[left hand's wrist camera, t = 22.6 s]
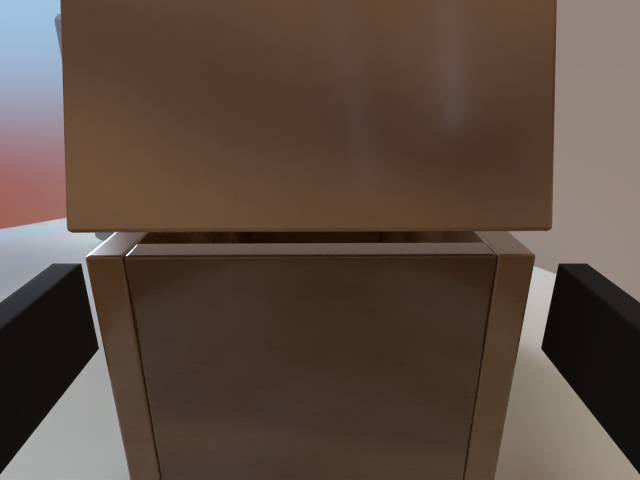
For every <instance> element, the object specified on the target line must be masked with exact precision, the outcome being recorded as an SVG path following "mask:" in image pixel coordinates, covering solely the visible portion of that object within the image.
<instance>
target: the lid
mask: <svg viewBox="0 0 640 480" xmlns="http://www.w3.org/2000/svg"><path fill="white" fill-rule="evenodd" d="M556 8H557V0H61V32H62V66H63V101H64V136H65V170H66V205H67V229H68V231H70V232H72V233H83V232H392V231H548V230H550V229H551V228H552V201H553V154H554V105H555V57H556V56H555V55H556Z"/></svg>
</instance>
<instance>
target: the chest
mask: <svg viewBox="0 0 640 480" xmlns="http://www.w3.org/2000/svg"><path fill="white" fill-rule="evenodd" d="M534 260H535V255H534V254H533V253H532V252H531V251H530V250H529V249H527V248H526V247H525V246H524V245H523V244H522V243H520V242H519V241H518V240H517V239H516V238H515V237H513V236H512V235H511V234H510V233H509V232H508V231H392V232H115V233H114V234H113V235H112V236H110V237H109V238H108V239H107V240H106V241H104V242H103V243H102V244H101V245H100V246H98V247H97V248H96V249H95V250H93V251H92V252H91V253H90V254H89V255H87V257H86V262H87V267H88V272H89V277H90V282H91V287H92V292H93V297H94V302H95V307H96V311H97V316H98V321H99V326H100V331H101V336H102V341H103V346H104V351H105V356H106V361H107V366H108V371H109V376H110V381H111V386H112V390H113V395H114V400H115V405H116V410H117V415H118V420H119V425H120V430H121V435H122V440H123V445H124V450H125V455H126V460H127V464H128V469H129V474H130V479H131V480H494V476H495V471H496V466H497V460H498V455H499V449H500V444H501V439H502V433H503V428H504V422H505V417H506V412H507V406H508V401H509V395H510V390H511V384H512V379H513V374H514V368H515V363H516V357H517V352H518V347H519V341H520V336H521V330H522V325H523V320H524V314H525V309H526V303H527V298H528V293H529V287H530V282H531V276H532V271H533V266H534Z"/></svg>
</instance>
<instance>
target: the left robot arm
mask: <svg viewBox="0 0 640 480" xmlns="http://www.w3.org/2000/svg"><path fill="white" fill-rule="evenodd" d="M98 349H99V347H98V342H97V338H96V333H95V328H94V323H93V318H92V314H91V309H90V304H89V299H88V294H87V289H86V285H85V280H84V275H83V270H82V265H81V264H52V265H51V266H49V267H48V268H47V269H45V270H44V271H43V272H41V273H40V274H38V275H37V276H36V277H34V278H33V279H32V280H30V281H29V282H28V283H26V284H25V285H24V286H22V287H21V288H20V289H18V290H17V291H15V292H14V293H13V294H11V295H10V296H9V297H7V298H6V299H5V300H3V301H2V302H1V303H0V474H1V473H2V471H3V470H4V469H5V468H6V466H7V465H8V464H9V462H10V461H11V460H12V459H13V457H14V456H15V455H16V454H17V452H18V451H19V450H20V448H21V447H22V446H23V445H24V443H25V442H26V441H27V440H28V438H29V437H30V436H31V434H32V433H33V432H34V431H35V429H36V428H37V427H38V425H39V424H40V423H41V422H42V420H43V419H44V418H45V417H46V415H47V414H48V413H49V411H50V410H51V409H52V408H53V406H54V405H55V404H56V403H57V401H58V400H59V399H60V397H61V396H62V395H63V394H64V392H65V391H66V390H67V389H68V387H69V386H70V385H71V383H72V382H73V381H74V380H75V378H76V377H77V376H78V375H79V373H80V372H81V371H82V369H83V368H84V367H85V366H86V364H87V363H88V362H89V361H90V359H91V358H92V357H93V355H94V354H95V353H96V352H97V350H98ZM541 349H542V350H543V352H544V353H545V354H546V355H547V357H548V358H549V359H550V361H551V362H552V363H553V364H554V366H555V367H556V368H557V369H558V371H559V372H560V373H561V375H562V376H563V377H564V378H565V380H566V381H567V382H568V383H569V385H570V386H571V387H572V389H573V390H574V391H575V392H576V394H577V395H578V396H579V397H580V399H581V400H582V401H583V403H584V404H585V405H586V406H587V408H588V409H589V410H590V411H591V413H592V414H593V415H594V417H595V418H596V419H597V420H598V422H599V423H600V424H601V425H602V427H603V428H604V429H605V431H606V432H607V433H608V434H609V436H610V437H611V438H612V440H613V441H614V442H615V443H616V445H617V446H618V447H619V448H620V450H621V451H622V452H623V454H624V455H625V456H626V457H627V459H628V460H629V461H630V462H631V464H632V465H633V466H634V468H635V469H636V470H637V471H638V473H639V474H640V303H639V302H638V301H637V300H635V299H634V298H633V297H631V296H630V295H629V294H627V293H626V292H625V291H623V290H622V289H620V288H619V287H618V286H616V285H615V284H614V283H612V282H611V281H610V280H608V279H607V278H606V277H604V276H603V275H601V274H600V273H599V272H597V271H596V270H595V269H593V268H592V267H591V266H589V265H588V264H559V266H558V270H557V275H556V280H555V285H554V289H553V294H552V299H551V304H550V309H549V314H548V318H547V323H546V328H545V333H544V338H543V342H542V347H541Z"/></svg>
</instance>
